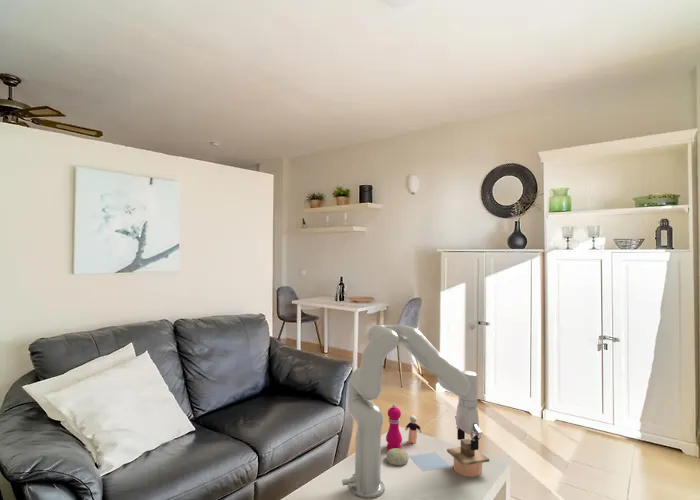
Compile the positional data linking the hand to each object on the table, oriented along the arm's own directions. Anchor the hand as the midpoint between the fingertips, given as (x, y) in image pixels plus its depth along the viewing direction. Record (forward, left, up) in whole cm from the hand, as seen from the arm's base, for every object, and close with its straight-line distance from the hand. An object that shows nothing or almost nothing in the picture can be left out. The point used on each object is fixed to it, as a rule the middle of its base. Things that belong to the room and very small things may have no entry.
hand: (467, 444), depth 164 cm
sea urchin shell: (-25, +14, -11) cm, 31 cm away
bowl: (0, 0, -10) cm, 10 cm away
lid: (0, 0, -5) cm, 5 cm away
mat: (-12, +10, -10) cm, 19 cm away
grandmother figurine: (-11, +28, -10) cm, 32 cm away
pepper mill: (-22, +25, -11) cm, 35 cm away
